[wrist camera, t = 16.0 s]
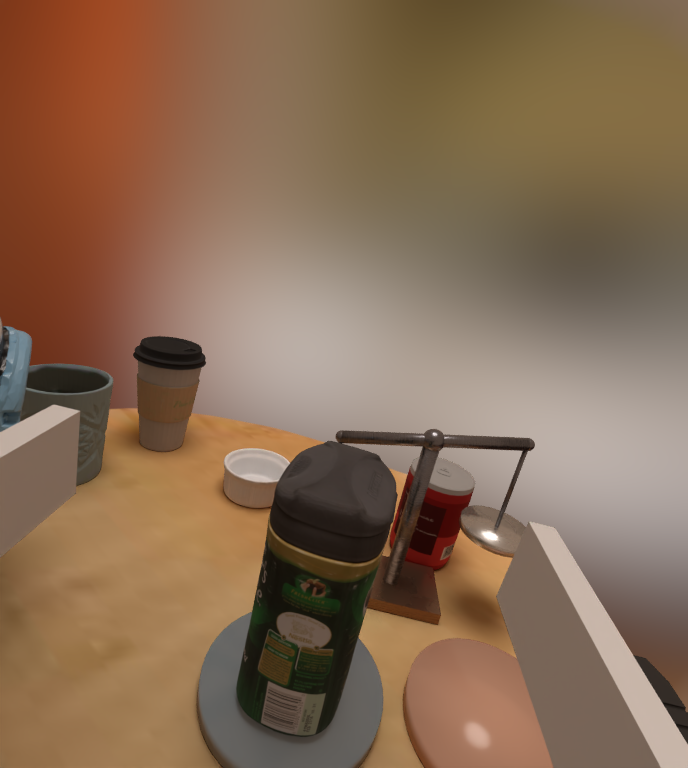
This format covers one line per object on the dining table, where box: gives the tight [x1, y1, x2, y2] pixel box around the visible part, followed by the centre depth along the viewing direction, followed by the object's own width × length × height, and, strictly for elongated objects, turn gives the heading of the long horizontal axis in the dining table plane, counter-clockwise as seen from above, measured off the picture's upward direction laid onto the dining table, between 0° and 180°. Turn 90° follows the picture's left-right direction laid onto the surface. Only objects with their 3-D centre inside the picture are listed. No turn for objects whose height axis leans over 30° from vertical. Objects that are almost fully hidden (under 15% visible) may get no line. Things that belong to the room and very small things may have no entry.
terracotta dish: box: [403, 638, 554, 768], centre depth 36 cm, size 14×14×2 cm
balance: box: [336, 429, 535, 625], centre depth 46 cm, size 24×7×20 cm, turn 86°
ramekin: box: [224, 448, 290, 508], centre depth 60 cm, size 9×9×4 cm
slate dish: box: [197, 612, 383, 768], centre depth 35 cm, size 14×14×2 cm
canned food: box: [390, 457, 475, 570], centre depth 55 cm, size 8×8×11 cm
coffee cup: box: [133, 336, 206, 452], centre depth 65 cm, size 9×9×15 cm
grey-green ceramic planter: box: [20, 364, 113, 486], centre depth 54 cm, size 10×10×12 cm
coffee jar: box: [236, 441, 398, 737], centre depth 32 cm, size 10×8×19 cm
